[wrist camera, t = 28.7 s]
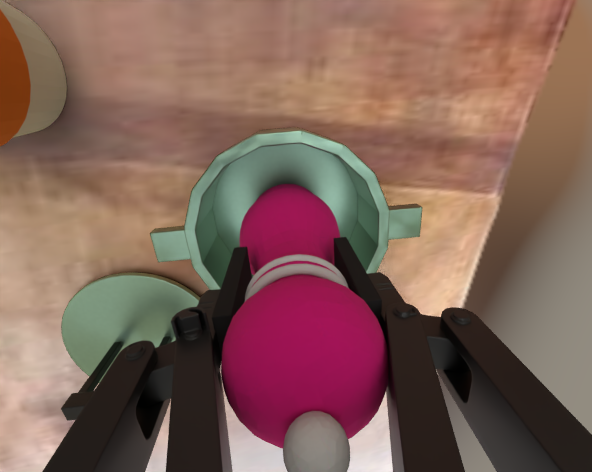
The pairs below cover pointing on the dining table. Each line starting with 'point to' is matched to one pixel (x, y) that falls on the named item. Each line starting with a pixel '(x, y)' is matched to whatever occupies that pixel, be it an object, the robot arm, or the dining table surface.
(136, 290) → the lid
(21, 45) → the reusable coffee cup
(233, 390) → the pepper mill
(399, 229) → the pot
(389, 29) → the dining table surface
